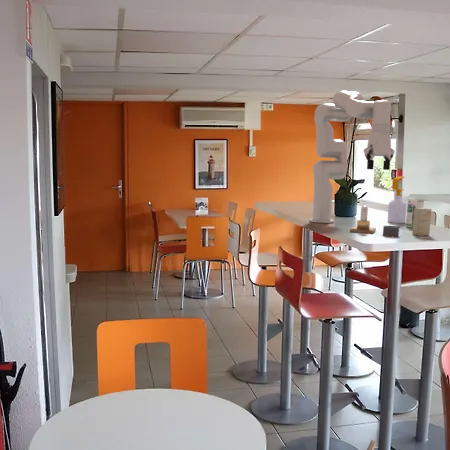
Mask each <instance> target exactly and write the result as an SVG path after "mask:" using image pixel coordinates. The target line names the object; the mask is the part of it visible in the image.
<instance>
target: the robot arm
mask: <svg viewBox="0 0 450 450" xmlns="http://www.w3.org/2000/svg"><path fill="white" fill-rule="evenodd" d="M363 97H364V96H363V95H362V93H360V92H358V91H347V90H340V91H337V92H336V93H334V95H333V96H332V103H322V104H319V105H317V107H316V108H315V111H314V124H315V128H316V149H315V150H316V155H317V156H318V157H320V158H321V159H322V160H318V161H316V162H315V163H314V164H313V166H312V167H313V168H312V173H313V201H312V202H313V203H312V217H311V218H309V220H308V221H309V222H311V223H316V224H317V223H319V224H332V223H334V222H335V220H334V219H332V211H333V210H332V208H333V185H332V182H331V180H342V179H344V178H346V175H347V172H348V147H347V143H346V142H345V141H344V140H343V139H334V128H333V125H331V122H339V123H340V122H341V123H342V122H348V121H349V120H350V119H352V118H356V119H360V120H361V119H364V120H365V119H366V120H371V132H369V136H368V139H367V147H365V148H364V149H363V153H364V157H365V158H366V161H367V162H366V165H367V166H366V170H373V169H374V164H375V163H374V158H375V157H383V159H384V160H383V167H382V168H383V170H384V171H390V169H391V161H392V159H393V158H394V154H395V153H396V152H395V150H394V149H393V148H392V144H391V143H392V138H391V133H390V131H391V126H390V125H391V111H392V103H391V101H390V100H386V99H381V100H375V101H368V100H367V101H366V100H364V98H363ZM323 159H334V160H323Z"/></svg>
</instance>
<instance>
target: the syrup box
mask: <svg viewBox="0 0 450 450" xmlns="http://www.w3.org/2000/svg"><path fill="white" fill-rule="evenodd" d="M424 205H425V199H422V198H415V197H409V198H407V203H406V218H405V227H406V228H412V229H413V220H414V208H424Z"/></svg>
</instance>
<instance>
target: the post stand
mask: <svg viewBox="0 0 450 450" xmlns="http://www.w3.org/2000/svg"><path fill="white" fill-rule="evenodd" d="M360 208H361V209H360V219H358V220H357V221H356V226H355V225H353V226H352V227H351V228H350V230H349V233H358V234H371V235H373V234H374V233H376V227H370V224H371V221H370V220H368V211H369V208H368V206H366V205H363V206H361V207H360Z"/></svg>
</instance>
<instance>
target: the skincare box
mask: <svg viewBox="0 0 450 450" xmlns="http://www.w3.org/2000/svg"><path fill="white" fill-rule="evenodd" d="M431 219H432V209H431V208H426V207H423V208H414V220H413V228H412V231H411V232H412V233H411V234H412V235H414V236H418V237H419V236H424V235H429V236H430V231H431V230H430V227H431V221H432V220H431Z"/></svg>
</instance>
